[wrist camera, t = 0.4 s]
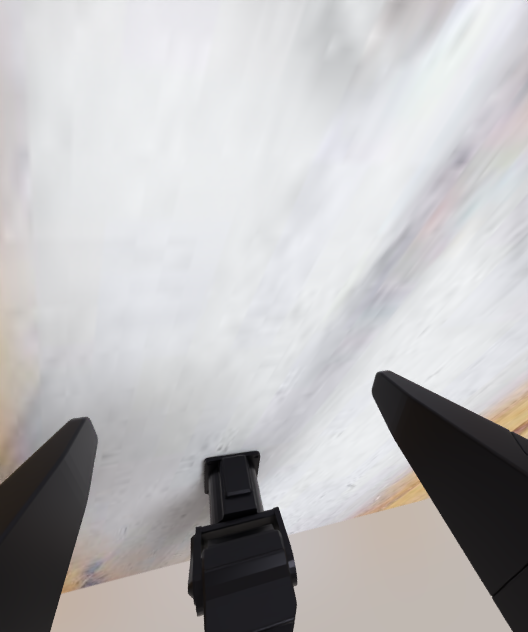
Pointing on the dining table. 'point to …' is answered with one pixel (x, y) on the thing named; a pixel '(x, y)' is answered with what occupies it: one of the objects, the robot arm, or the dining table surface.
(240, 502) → the robot arm
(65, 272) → the dining table surface
